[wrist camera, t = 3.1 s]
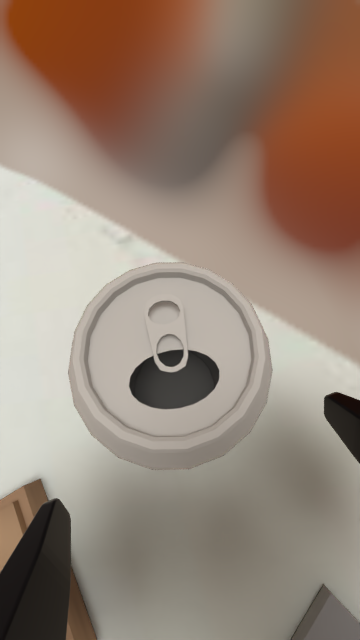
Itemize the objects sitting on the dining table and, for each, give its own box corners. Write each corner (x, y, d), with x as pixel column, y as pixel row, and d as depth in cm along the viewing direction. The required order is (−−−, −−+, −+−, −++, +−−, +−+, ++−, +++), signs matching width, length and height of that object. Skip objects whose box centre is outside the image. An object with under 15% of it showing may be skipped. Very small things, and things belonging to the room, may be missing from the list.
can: (129, 453, 18) (43, 510, 7) (119, 347, 20) (46, 258, 9) (236, 433, 18) (329, 452, 7) (213, 332, 21) (253, 229, 10)
